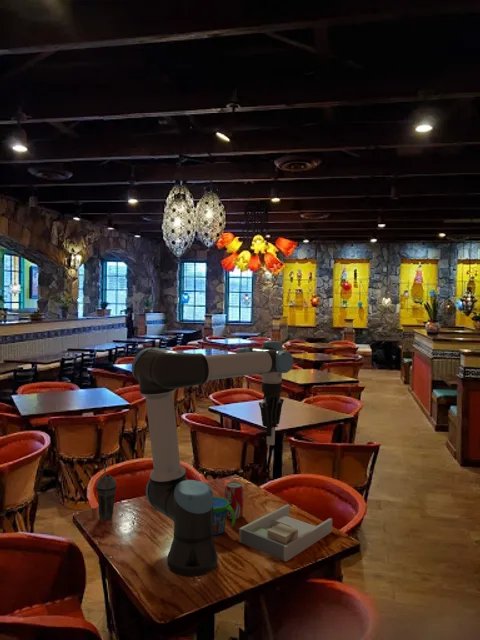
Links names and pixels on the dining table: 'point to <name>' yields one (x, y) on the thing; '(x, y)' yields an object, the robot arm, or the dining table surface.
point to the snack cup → (221, 515)
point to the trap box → (257, 539)
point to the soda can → (234, 498)
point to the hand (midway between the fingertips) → (270, 444)
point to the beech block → (282, 533)
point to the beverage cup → (106, 496)
